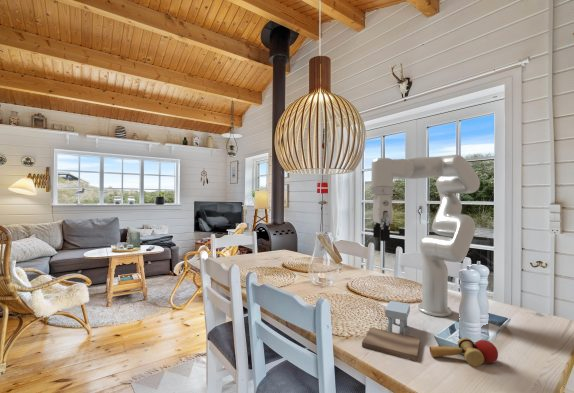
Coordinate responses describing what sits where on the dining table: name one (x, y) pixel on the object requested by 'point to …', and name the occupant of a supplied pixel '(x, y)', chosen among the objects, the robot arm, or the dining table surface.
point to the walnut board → (392, 343)
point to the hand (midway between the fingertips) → (381, 238)
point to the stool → (397, 314)
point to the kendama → (469, 351)
